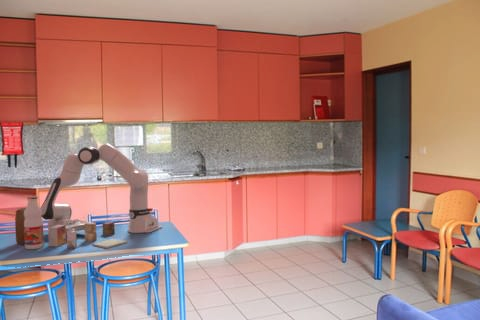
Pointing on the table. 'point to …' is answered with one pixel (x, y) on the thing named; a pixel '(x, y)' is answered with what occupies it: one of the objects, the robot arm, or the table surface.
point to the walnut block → (108, 228)
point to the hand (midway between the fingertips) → (81, 229)
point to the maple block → (90, 232)
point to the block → (20, 226)
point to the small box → (57, 235)
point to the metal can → (71, 239)
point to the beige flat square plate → (110, 243)
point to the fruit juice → (33, 224)
